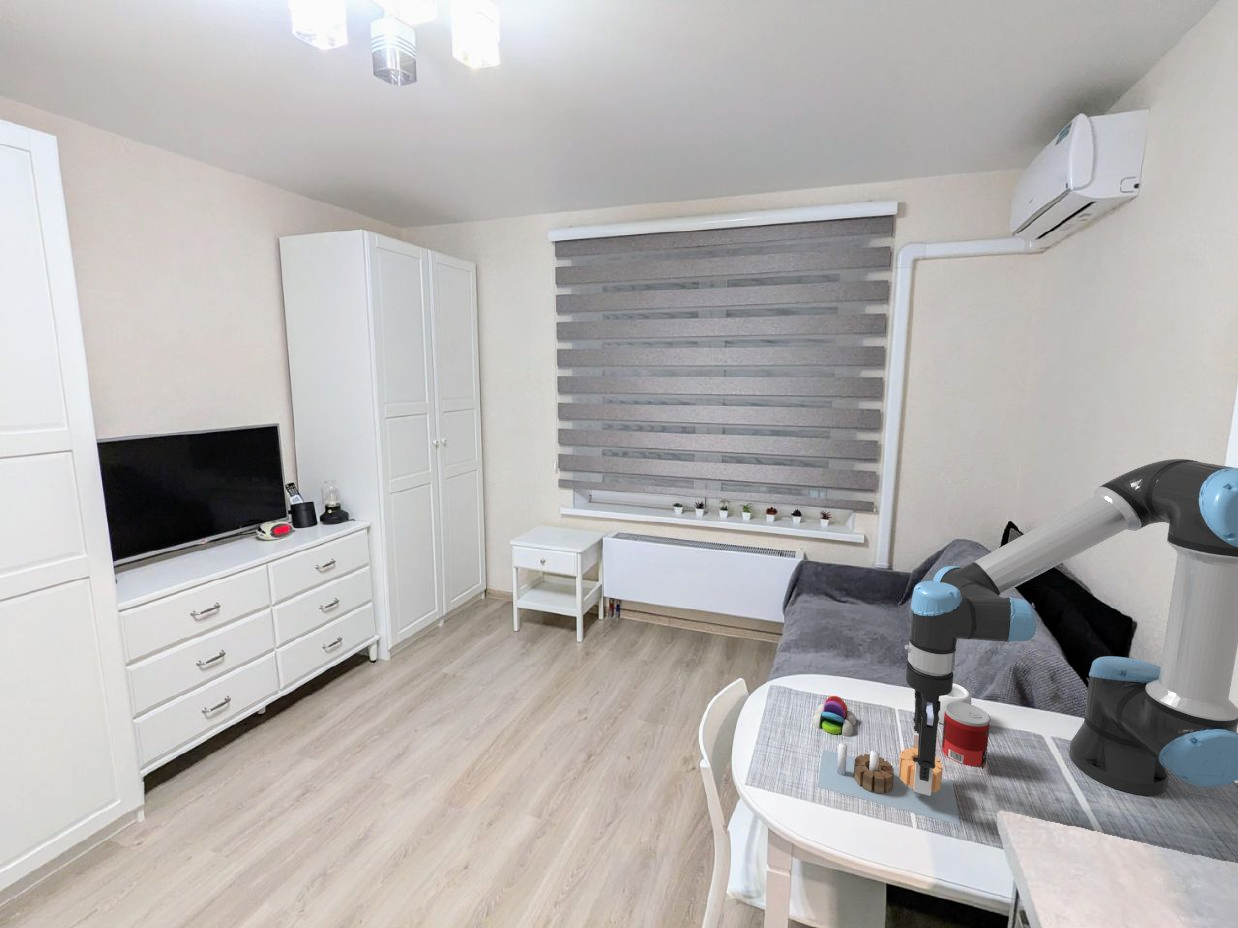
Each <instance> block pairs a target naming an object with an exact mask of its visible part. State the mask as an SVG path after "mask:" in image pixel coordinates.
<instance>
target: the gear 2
mask: <svg viewBox="0 0 1238 928" xmlns="http://www.w3.org/2000/svg"><path fill="white" fill-rule="evenodd" d="M917 756H918V748H913V747H909V749H908V748H905V749H903V750H901V752H900V754H899V764H898V765H899V766H898V768H899V777H900V779H901V780H902V781H903V782H904V783H905V784H906V785H909V784H910V785H909V787H910V788H912V789H914V778H915V766H916V762H915V761H913V757H917ZM943 767H944V766H943V763H942V762H941V760H940V759H939V758H938V757H937V756H936V755H935V768H934V769H933V773H932V784H931V793H932V791H933V792H937V791H938V790H940V788H941V781H942V778H943V769H944V768H943Z"/></svg>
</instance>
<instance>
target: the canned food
mask: <svg viewBox="0 0 1238 928" xmlns="http://www.w3.org/2000/svg"><path fill="white" fill-rule="evenodd" d="M942 725H943V724H942ZM990 726H991V718H990V714H988V713H987V711H985V710H984V709H982V708H980V707H978V706H975V705H974V704H972V703H971V704H967V703H962V702H952V703H948V704H947V705H946V707H945V714H944V725H943V728H942V739H941V740H942V741H941V751H942V752H943V754H944V755H945V756H946V757H947V758H948V759H950V760H952V761H953V762H956V763H958V764H960V765H963V766H968V767H980V766H981V770H983V769H984V768H985V766H986V764H987V754H988V744H989V736H990V728H991V727H990Z"/></svg>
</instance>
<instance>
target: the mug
mask: <svg viewBox="0 0 1238 928" xmlns="http://www.w3.org/2000/svg"><path fill="white" fill-rule="evenodd" d="M939 701H940V711H939V715H938V716H939V721H938V724H939V723H940V724H941V725H944V714H945V707H946V705H947V704H948V703H952V702H962V703H967V704H971V705H972V696H971V694H970V692H969V690H968V689H966V688H965V687H963V686H962V685H959V684H958V683H954V682H953V685H952V691H951V692H950V693H949V694H947V695H944V696H939Z"/></svg>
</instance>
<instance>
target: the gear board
mask: <svg viewBox="0 0 1238 928" xmlns="http://www.w3.org/2000/svg"><path fill="white" fill-rule="evenodd" d="M837 747H838V748H837V749H838V750H837V752H836V751H832V750H826V749H822V752H821V753H822V754H821V760H820V767H819V776H818V781H817V788H819V789H823V790H827V791H831V792H834V793H839V794H841V795H845V796H850V797H853V798H856V799H859V800H864V801H868V802H871V803H875V804H878V805H881V806H882V805H883V806H885V807H886V806H887V807H889V808H893V809H898V810H899V811H900V810H901V811H904V812H909V813H911V814H916V815H919V816H924V817H927V818H929V819H934V820H937V821H941V822H944V823H948V824H949V823H950V824H953V825H957V826H961V825H962V824H961V820H960V815H959V809H958V804H957V798H956V793H955V792H956V791H955V788H954V787H955V785H954V782H953V780H950V779H946V778H943V777H942V781H941V788H940V790H938V791H937V792H933V791H932V793H931V795H930V796H929V795H925V794H921V793H917V792H914V789H912V788H910V787H909V785H910V784H909V785H906V784H905V783H904V782H903V781H902V780H901V779H900V777H899V767H897V766H894V765H892V768H894V779H893V788H892V790H890V791H888V792H887V793H886V792H885V791H884V793H875V792H874V790H873V789H872V791H869V790H866V789H864V788H863V785H859V784H858V783H857V782H856V781H855V778H854V763H855V759H856V757H857V756H856V757H855V756H852V755H847V754H848V745H847V744H846V743H844V742H840V743H838V746H837ZM869 754H870V765H869V770H871V771H874V772H878V766H879V757H880V753H879V751H877V750H871V751H870V752H869Z"/></svg>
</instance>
